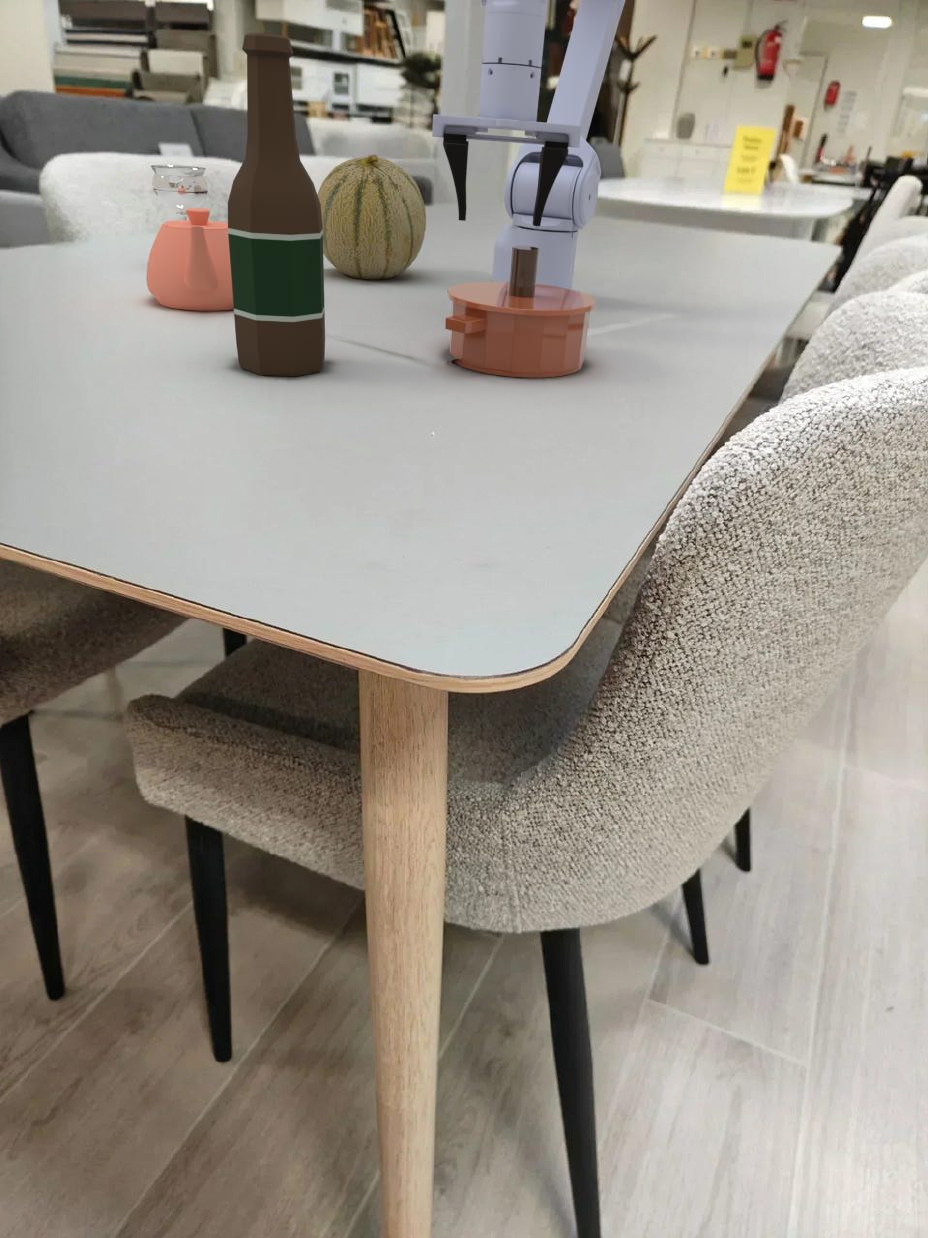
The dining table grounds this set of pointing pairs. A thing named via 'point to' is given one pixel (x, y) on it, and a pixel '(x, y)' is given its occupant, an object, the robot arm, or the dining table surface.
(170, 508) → the dining table surface
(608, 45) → the robot arm
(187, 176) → the wineglass
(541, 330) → the faceted orange tub
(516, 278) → the pot lid
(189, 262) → the teapot
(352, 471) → the dining table surface
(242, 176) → the beer bottle
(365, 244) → the cantaloupe
